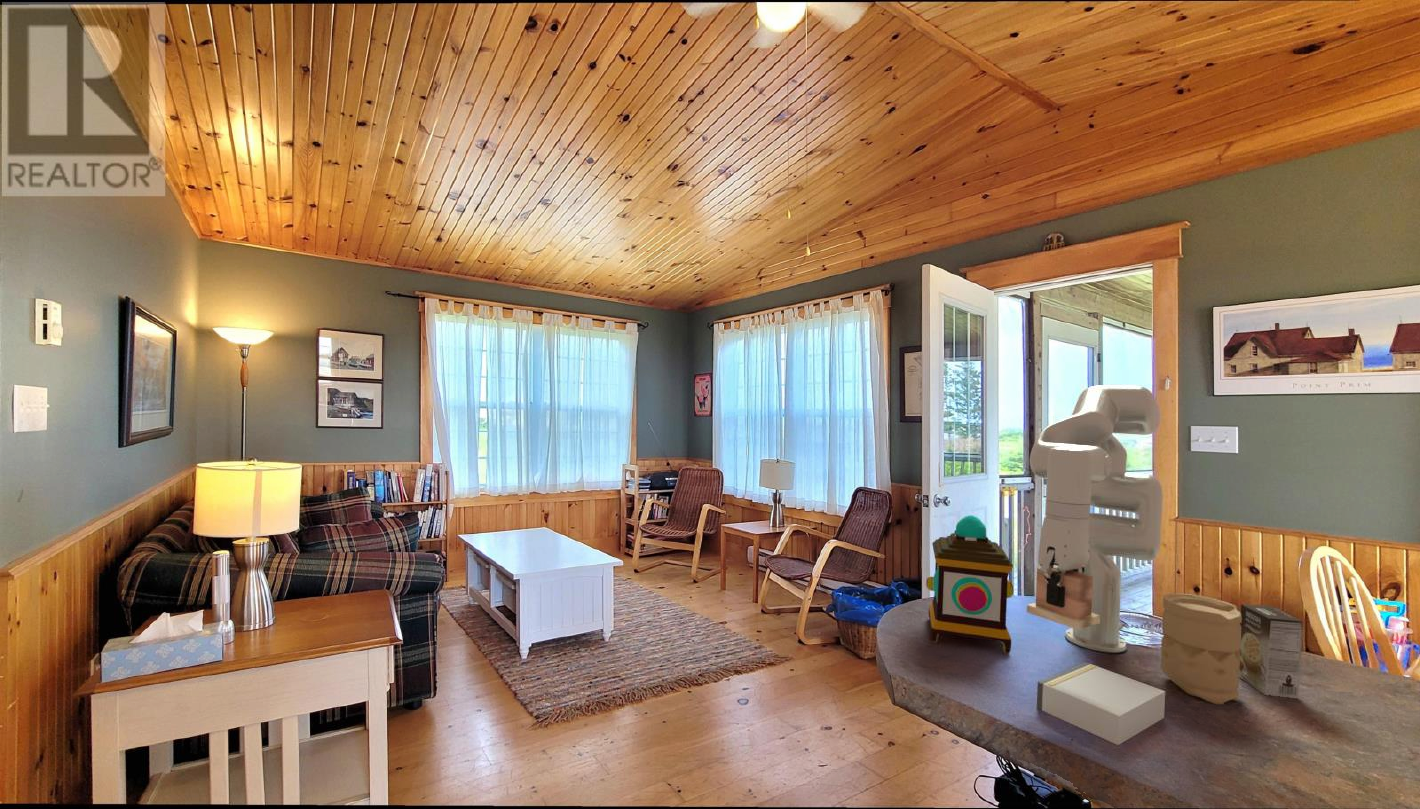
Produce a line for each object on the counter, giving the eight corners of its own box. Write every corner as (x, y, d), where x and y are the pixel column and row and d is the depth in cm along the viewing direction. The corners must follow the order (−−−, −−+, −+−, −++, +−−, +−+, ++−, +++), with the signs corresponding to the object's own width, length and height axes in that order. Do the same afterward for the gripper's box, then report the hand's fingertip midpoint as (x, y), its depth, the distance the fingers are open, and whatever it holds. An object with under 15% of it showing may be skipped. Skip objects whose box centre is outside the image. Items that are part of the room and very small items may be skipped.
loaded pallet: (1048, 606, 124) (1050, 562, 124) (1100, 622, 116) (1102, 576, 115) (1026, 612, 120) (1028, 567, 120) (1078, 629, 112) (1080, 581, 112)
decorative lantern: (923, 616, 162) (927, 505, 162) (1004, 627, 156) (1009, 511, 155) (925, 644, 143) (930, 518, 143) (1018, 658, 137) (1023, 527, 136)
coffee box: (1235, 675, 132) (1238, 602, 132) (1269, 679, 131) (1272, 605, 130) (1264, 695, 123) (1268, 617, 123) (1301, 699, 122) (1305, 620, 121)
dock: (1084, 685, 124) (1085, 661, 124) (1164, 717, 113) (1165, 690, 112) (1036, 707, 115) (1037, 681, 115) (1118, 745, 103) (1119, 715, 103)
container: (1245, 693, 123) (1249, 606, 123) (1228, 711, 116) (1232, 618, 116) (1170, 670, 133) (1174, 589, 133) (1150, 685, 126) (1154, 599, 126)
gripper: (1071, 504, 125) (1067, 591, 126) (1023, 510, 116) (1019, 603, 117) (1110, 510, 119) (1106, 602, 119) (1062, 517, 110) (1058, 616, 110)
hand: (1063, 601), depth 118 cm, fingers closed on loaded pallet, 5 cm apart
